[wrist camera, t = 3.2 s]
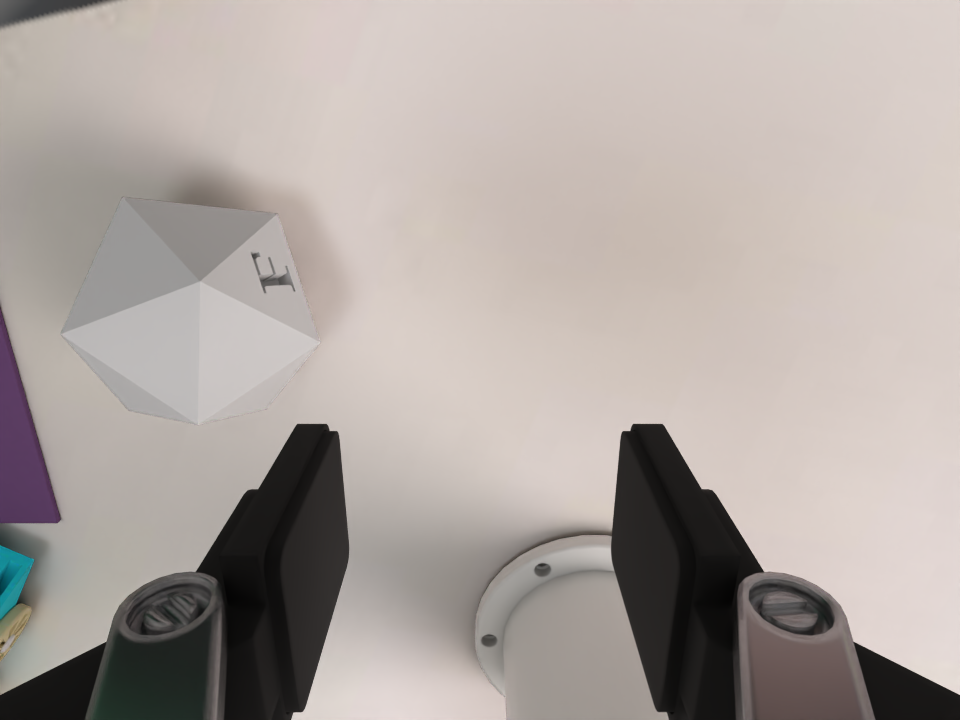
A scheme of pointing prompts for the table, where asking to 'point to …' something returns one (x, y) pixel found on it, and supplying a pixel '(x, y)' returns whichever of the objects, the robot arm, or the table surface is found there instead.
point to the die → (192, 311)
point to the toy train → (12, 597)
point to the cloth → (20, 450)
